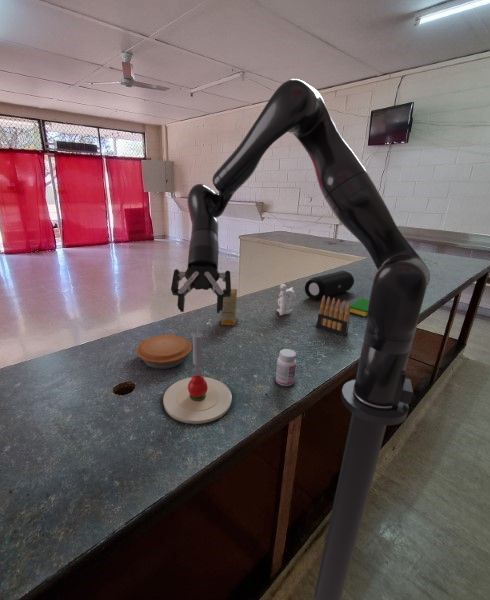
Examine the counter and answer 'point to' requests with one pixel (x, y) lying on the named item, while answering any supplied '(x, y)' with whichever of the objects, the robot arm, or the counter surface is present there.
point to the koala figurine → (285, 299)
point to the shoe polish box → (229, 309)
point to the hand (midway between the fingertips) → (200, 311)
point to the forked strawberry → (197, 372)
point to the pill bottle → (286, 367)
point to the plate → (197, 402)
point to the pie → (164, 351)
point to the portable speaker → (329, 284)
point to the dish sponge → (360, 307)
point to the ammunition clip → (334, 316)
